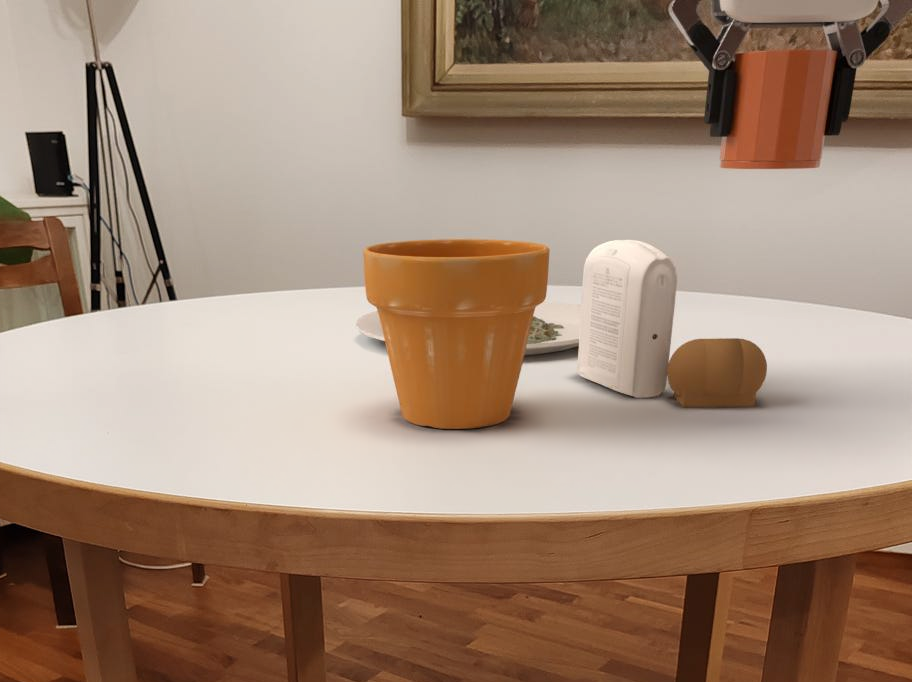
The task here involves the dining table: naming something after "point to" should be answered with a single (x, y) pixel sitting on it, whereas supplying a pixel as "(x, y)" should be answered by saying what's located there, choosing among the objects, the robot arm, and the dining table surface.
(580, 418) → the dining table surface
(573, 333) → the plated food
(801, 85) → the pot
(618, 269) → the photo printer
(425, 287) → the flower pot
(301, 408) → the dining table surface
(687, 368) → the bread loaf
